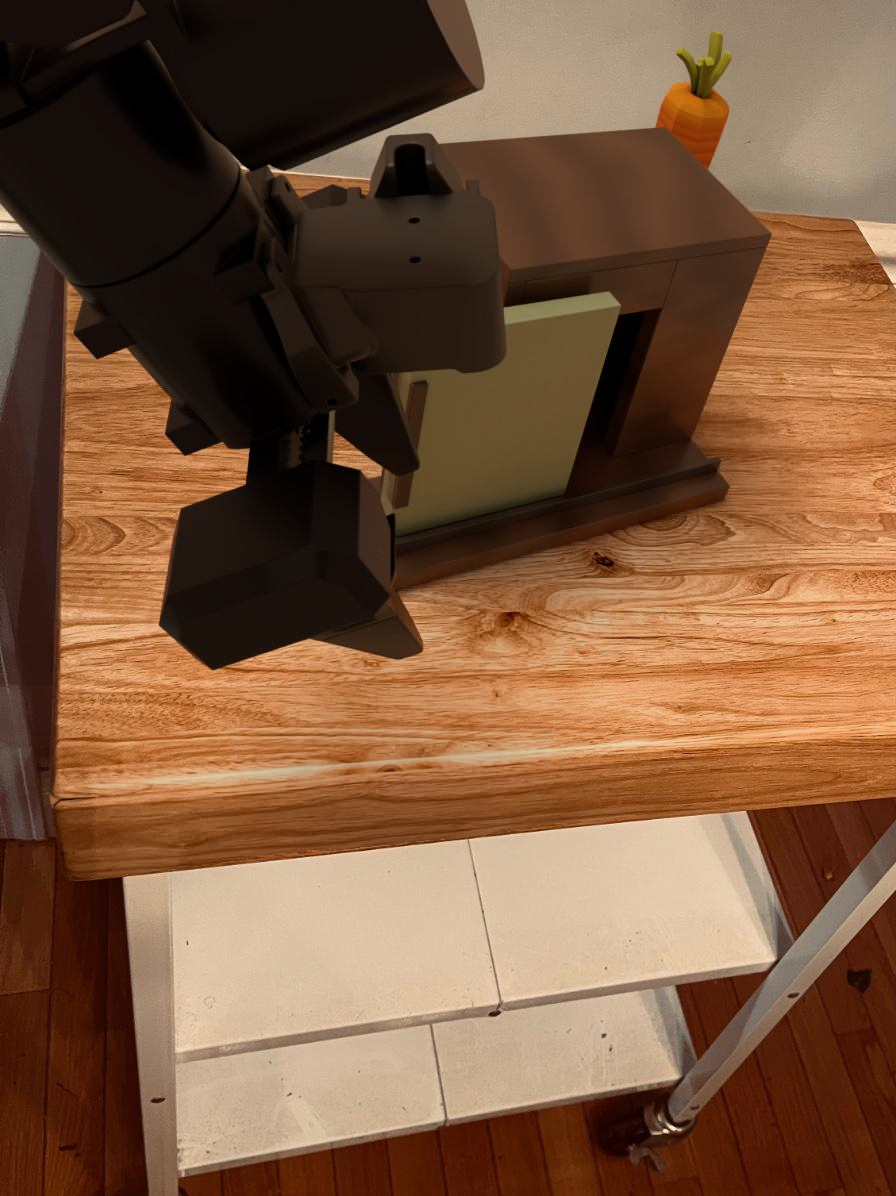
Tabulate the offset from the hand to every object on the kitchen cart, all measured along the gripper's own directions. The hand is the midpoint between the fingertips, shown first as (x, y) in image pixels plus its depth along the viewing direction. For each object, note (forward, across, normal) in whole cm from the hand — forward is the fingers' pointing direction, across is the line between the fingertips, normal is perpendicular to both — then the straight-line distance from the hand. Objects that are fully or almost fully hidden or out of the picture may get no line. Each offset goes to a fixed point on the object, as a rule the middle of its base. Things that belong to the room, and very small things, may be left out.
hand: (410, 555), depth 45 cm
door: (+13, +15, +3) cm, 20 cm away
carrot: (+23, +48, -9) cm, 54 cm away
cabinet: (+16, +21, +2) cm, 26 cm away
